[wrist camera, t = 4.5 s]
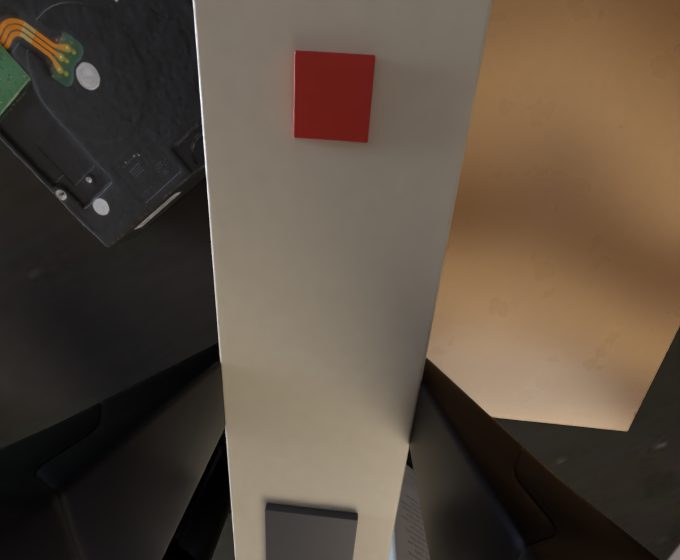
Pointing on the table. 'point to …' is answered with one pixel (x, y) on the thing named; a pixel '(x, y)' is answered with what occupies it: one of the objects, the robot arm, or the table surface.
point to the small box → (409, 524)
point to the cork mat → (566, 214)
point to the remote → (328, 249)
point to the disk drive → (104, 106)
